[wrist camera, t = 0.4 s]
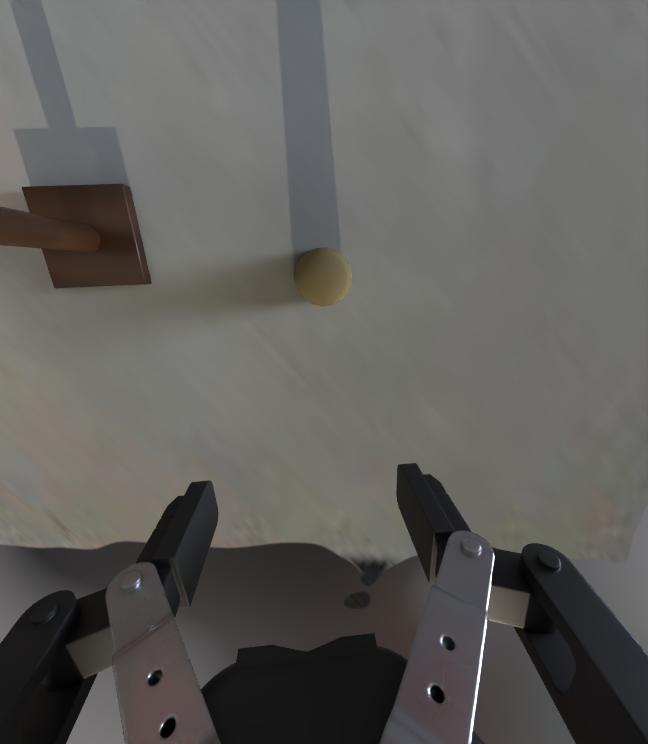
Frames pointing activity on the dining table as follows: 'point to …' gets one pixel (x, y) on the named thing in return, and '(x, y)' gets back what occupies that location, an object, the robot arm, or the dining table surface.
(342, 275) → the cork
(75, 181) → the dining table surface
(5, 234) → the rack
